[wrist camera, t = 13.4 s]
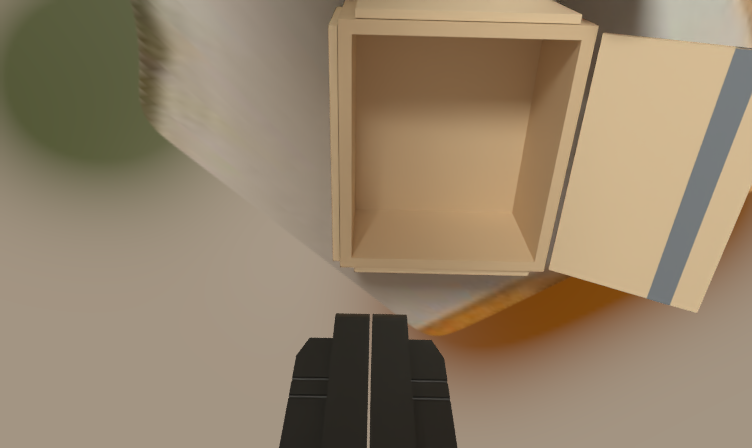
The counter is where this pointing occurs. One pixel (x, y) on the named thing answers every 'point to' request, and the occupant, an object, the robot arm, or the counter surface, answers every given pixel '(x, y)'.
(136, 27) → the counter surface
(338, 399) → the robot arm
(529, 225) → the carton
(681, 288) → the flap
